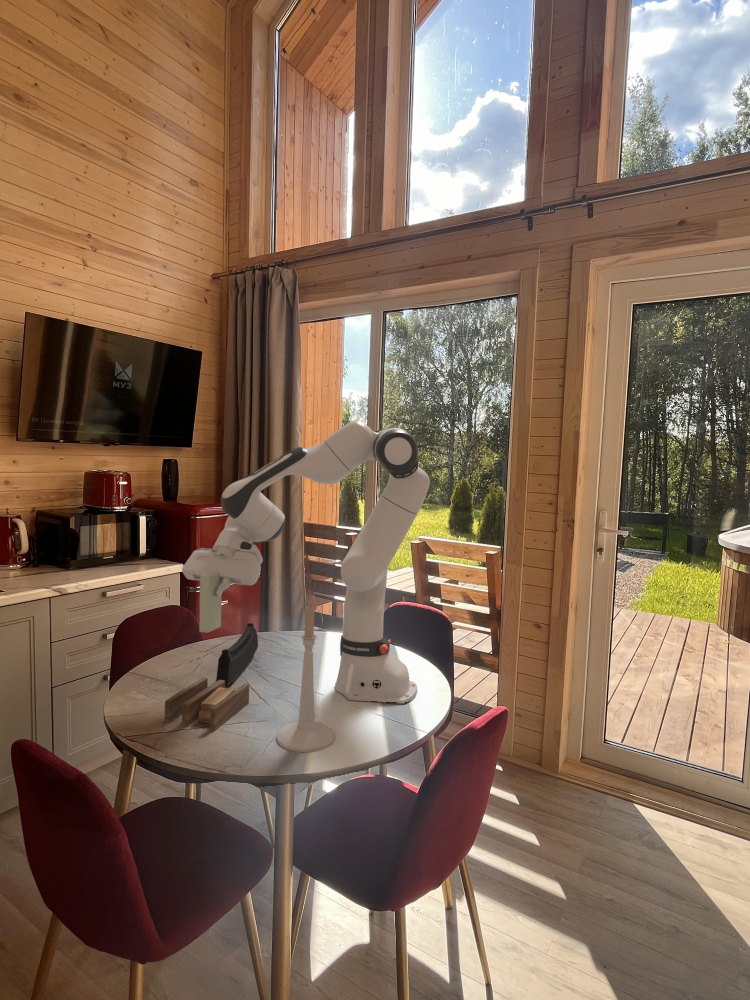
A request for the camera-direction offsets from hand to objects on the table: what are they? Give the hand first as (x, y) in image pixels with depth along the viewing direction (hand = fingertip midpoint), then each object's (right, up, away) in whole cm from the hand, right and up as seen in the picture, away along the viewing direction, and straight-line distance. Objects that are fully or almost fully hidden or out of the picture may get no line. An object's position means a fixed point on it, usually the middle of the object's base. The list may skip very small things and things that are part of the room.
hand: (209, 594), depth 143 cm
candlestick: (+26, -29, -16) cm, 42 cm away
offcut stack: (+3, -28, -5) cm, 29 cm away
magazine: (+2, -27, +24) cm, 36 cm away
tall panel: (0, -9, +1) cm, 9 cm away
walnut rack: (+1, -28, -5) cm, 28 cm away
